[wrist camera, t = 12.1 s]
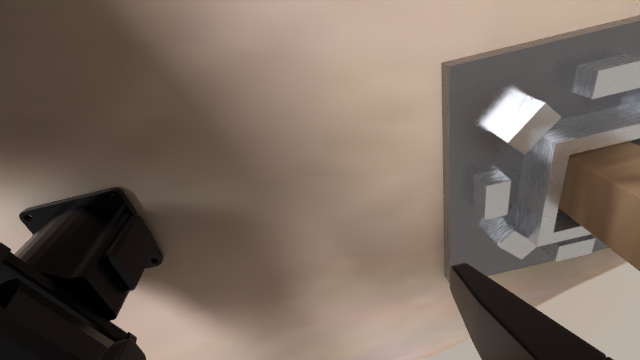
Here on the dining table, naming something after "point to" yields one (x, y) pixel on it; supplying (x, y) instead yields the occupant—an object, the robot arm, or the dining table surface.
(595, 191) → the tan tall block
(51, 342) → the robot arm
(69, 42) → the dining table surface
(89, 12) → the dining table surface
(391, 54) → the dining table surface
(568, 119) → the grey square base plate
